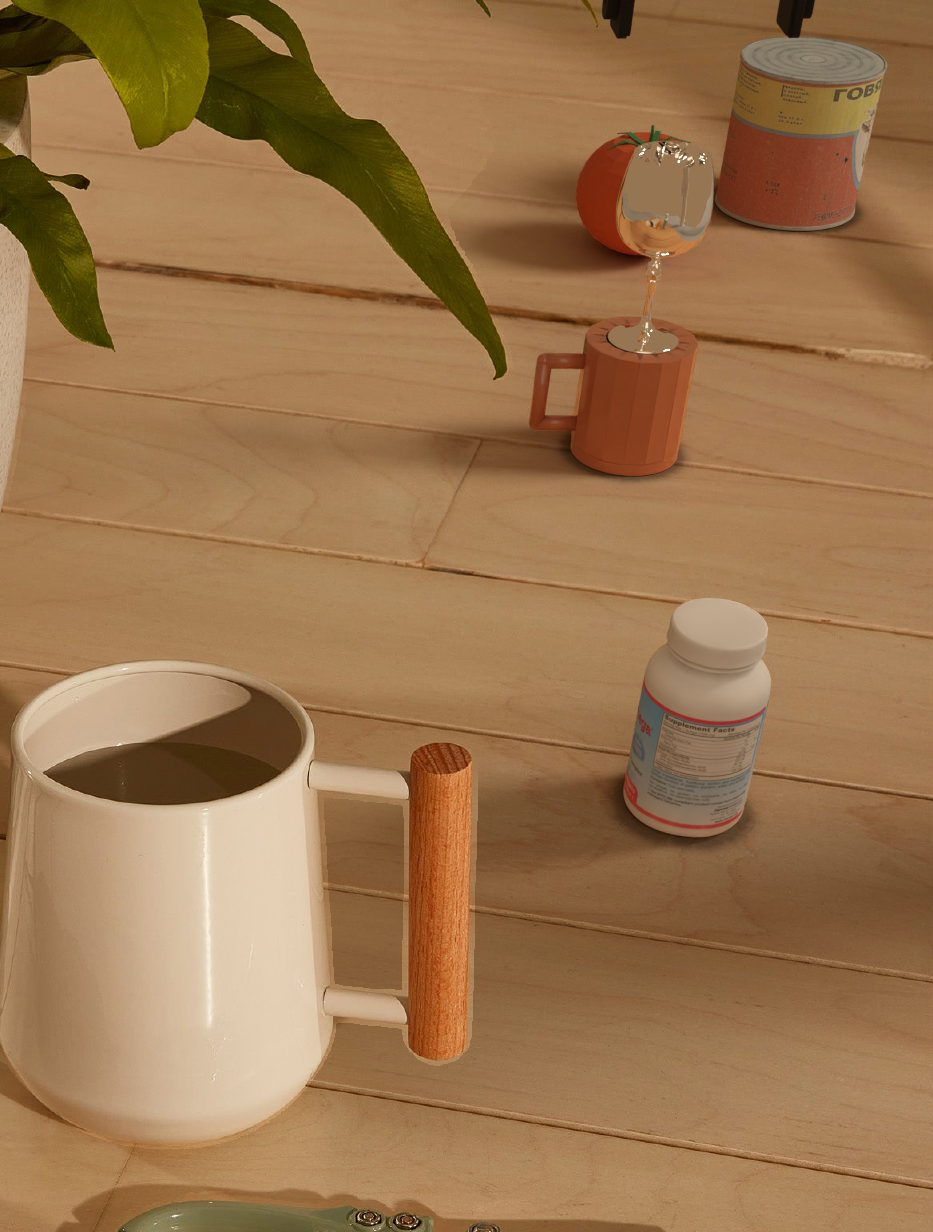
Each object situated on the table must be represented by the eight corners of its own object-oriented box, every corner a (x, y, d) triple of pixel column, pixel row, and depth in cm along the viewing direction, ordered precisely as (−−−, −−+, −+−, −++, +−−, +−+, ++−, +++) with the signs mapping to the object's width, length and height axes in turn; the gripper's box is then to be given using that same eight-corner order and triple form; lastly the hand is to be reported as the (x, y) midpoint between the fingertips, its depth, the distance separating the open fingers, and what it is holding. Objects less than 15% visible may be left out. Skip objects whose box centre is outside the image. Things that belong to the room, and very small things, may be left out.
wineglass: (582, 344, 130) (608, 158, 123) (619, 313, 134) (647, 131, 127) (667, 366, 128) (699, 178, 120) (703, 334, 132) (736, 149, 124)
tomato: (634, 216, 168) (653, 94, 162) (727, 257, 161) (750, 131, 155) (541, 244, 164) (557, 119, 158) (632, 287, 157) (653, 158, 151)
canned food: (849, 238, 164) (882, 87, 157) (706, 221, 167) (732, 72, 160) (859, 189, 173) (891, 44, 165) (723, 173, 176) (748, 30, 168)
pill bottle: (638, 759, 109) (672, 577, 102) (753, 789, 106) (796, 605, 99) (607, 823, 104) (640, 637, 97) (727, 855, 102) (770, 668, 95)
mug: (667, 427, 139) (686, 316, 134) (685, 477, 133) (706, 363, 128) (519, 425, 139) (533, 314, 134) (531, 474, 133) (546, 361, 129)
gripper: (599, -288, 105) (561, 52, 116) (939, -291, 105) (870, 51, 115) (579, -311, 111) (544, 14, 122) (901, -315, 111) (839, 12, 121)
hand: (703, 31), depth 118 cm, fingers open, 9 cm apart
